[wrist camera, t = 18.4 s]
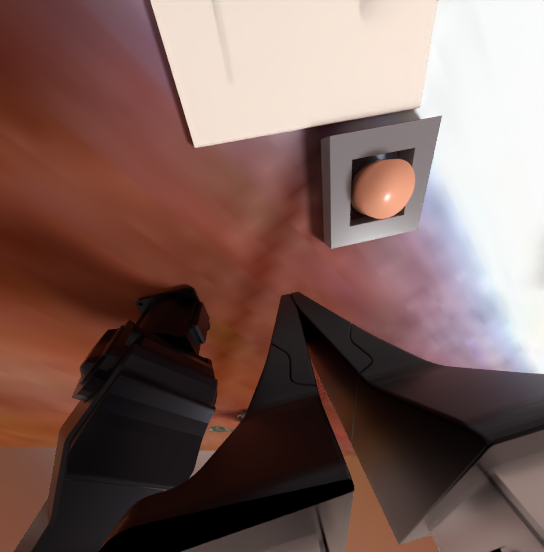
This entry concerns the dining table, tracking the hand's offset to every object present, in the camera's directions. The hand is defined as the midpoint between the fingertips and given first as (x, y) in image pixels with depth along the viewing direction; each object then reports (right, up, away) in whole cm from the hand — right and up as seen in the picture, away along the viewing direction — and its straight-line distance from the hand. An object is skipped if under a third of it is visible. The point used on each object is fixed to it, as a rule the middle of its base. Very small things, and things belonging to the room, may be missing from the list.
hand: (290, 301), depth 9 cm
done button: (+9, +10, +10) cm, 17 cm away
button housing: (+9, +10, +11) cm, 18 cm away
